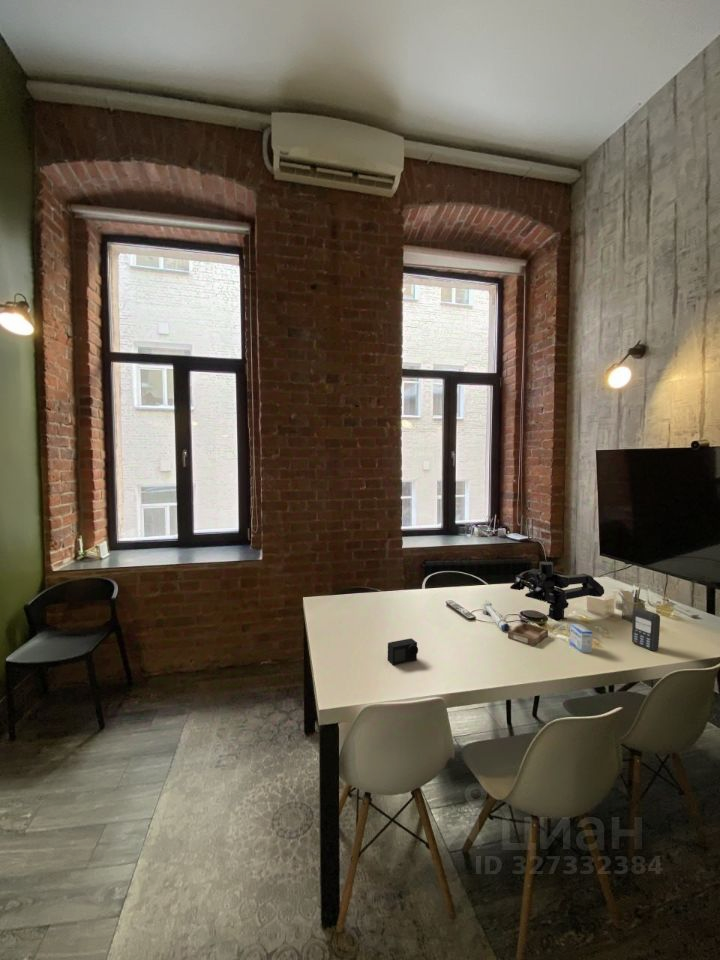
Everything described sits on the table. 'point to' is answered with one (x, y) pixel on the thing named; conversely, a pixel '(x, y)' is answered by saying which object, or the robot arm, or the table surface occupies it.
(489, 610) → the white stick
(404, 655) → the digital camera
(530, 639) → the tray
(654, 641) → the card reader
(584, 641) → the medicine box
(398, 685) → the table surface
